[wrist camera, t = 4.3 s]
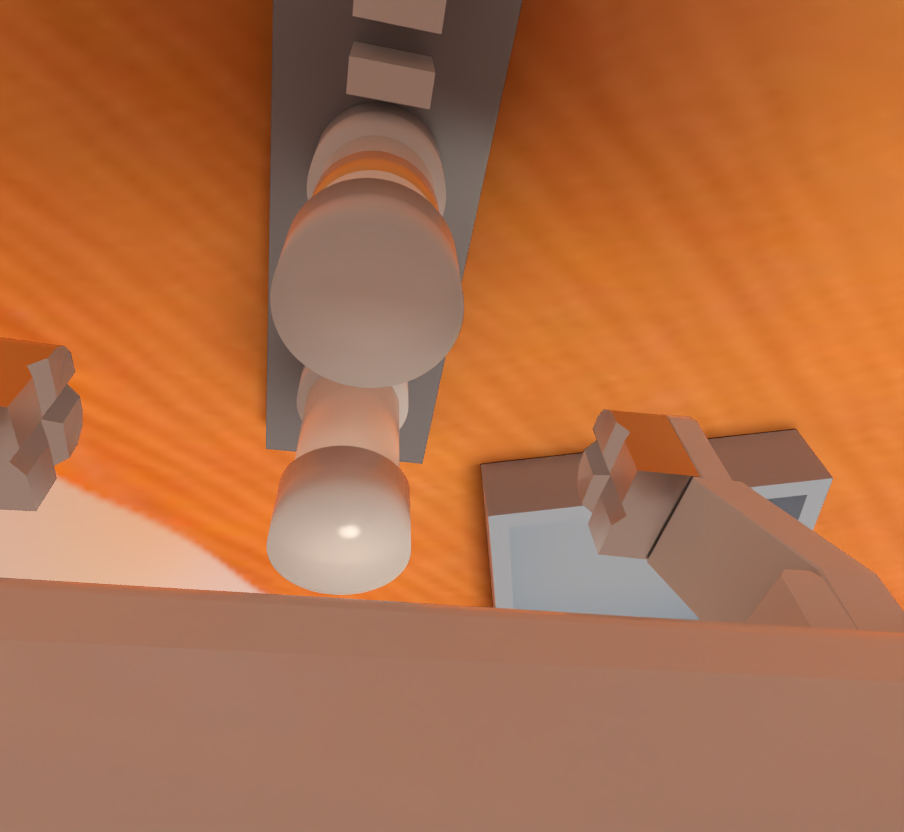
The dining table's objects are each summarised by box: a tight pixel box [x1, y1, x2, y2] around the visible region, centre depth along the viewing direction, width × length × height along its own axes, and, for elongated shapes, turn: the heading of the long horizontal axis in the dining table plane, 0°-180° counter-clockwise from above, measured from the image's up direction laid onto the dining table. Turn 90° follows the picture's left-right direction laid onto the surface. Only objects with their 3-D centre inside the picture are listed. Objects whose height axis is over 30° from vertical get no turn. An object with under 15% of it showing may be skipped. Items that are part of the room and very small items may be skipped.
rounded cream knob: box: [267, 365, 411, 595], centre depth 19 cm, size 4×4×8 cm
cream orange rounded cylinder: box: [270, 102, 464, 388], centre depth 15 cm, size 4×4×8 cm
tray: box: [481, 429, 833, 620], centre depth 31 cm, size 14×14×3 cm
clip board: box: [266, 0, 522, 464], centre depth 18 cm, size 22×6×4 cm, turn 169°
